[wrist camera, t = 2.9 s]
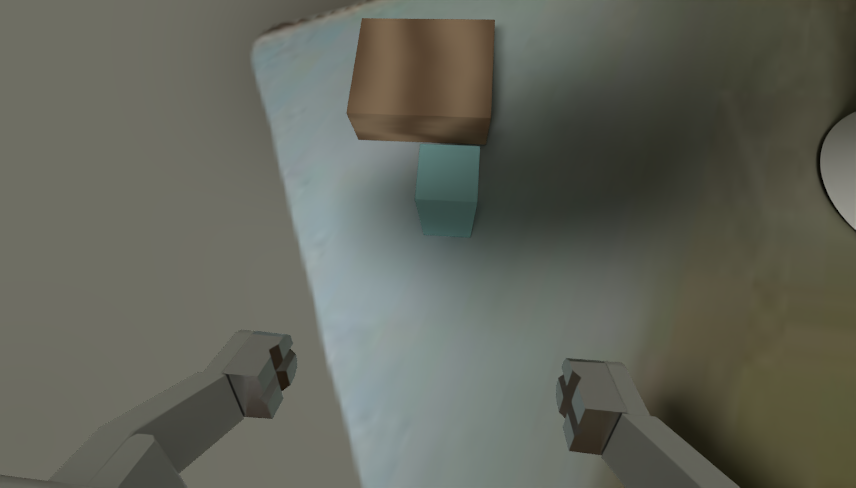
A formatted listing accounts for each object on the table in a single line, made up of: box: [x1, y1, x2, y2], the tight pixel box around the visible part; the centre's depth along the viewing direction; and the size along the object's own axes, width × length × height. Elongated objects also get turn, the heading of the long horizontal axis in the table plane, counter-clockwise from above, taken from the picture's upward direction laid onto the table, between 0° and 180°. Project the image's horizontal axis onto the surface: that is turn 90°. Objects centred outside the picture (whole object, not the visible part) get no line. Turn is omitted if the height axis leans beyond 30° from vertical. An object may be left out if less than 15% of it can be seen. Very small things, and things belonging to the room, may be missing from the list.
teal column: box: [415, 144, 480, 237], centre depth 26 cm, size 4×4×8 cm
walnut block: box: [347, 18, 495, 145], centre depth 31 cm, size 12×10×4 cm
